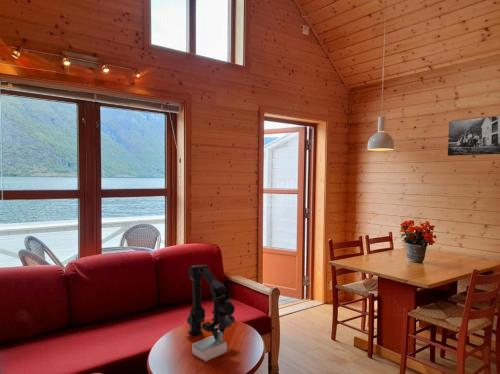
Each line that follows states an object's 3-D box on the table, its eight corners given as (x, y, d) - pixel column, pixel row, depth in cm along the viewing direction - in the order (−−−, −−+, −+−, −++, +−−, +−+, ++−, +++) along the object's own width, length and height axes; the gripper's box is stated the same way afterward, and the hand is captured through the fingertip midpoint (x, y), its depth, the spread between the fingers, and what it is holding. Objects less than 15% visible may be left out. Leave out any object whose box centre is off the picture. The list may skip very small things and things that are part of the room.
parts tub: (192, 353, 180) (192, 343, 180) (213, 344, 191) (213, 335, 190) (205, 361, 173) (205, 351, 173) (226, 351, 183) (226, 342, 183)
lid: (193, 346, 180) (193, 336, 180) (214, 337, 190) (214, 328, 189) (204, 352, 174) (204, 342, 173) (225, 343, 183) (225, 333, 183)
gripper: (215, 318, 173) (214, 350, 174) (242, 309, 186) (241, 338, 187) (201, 312, 181) (200, 342, 181) (228, 303, 194) (227, 331, 195)
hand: (218, 338), depth 186 cm, fingers open, 3 cm apart
